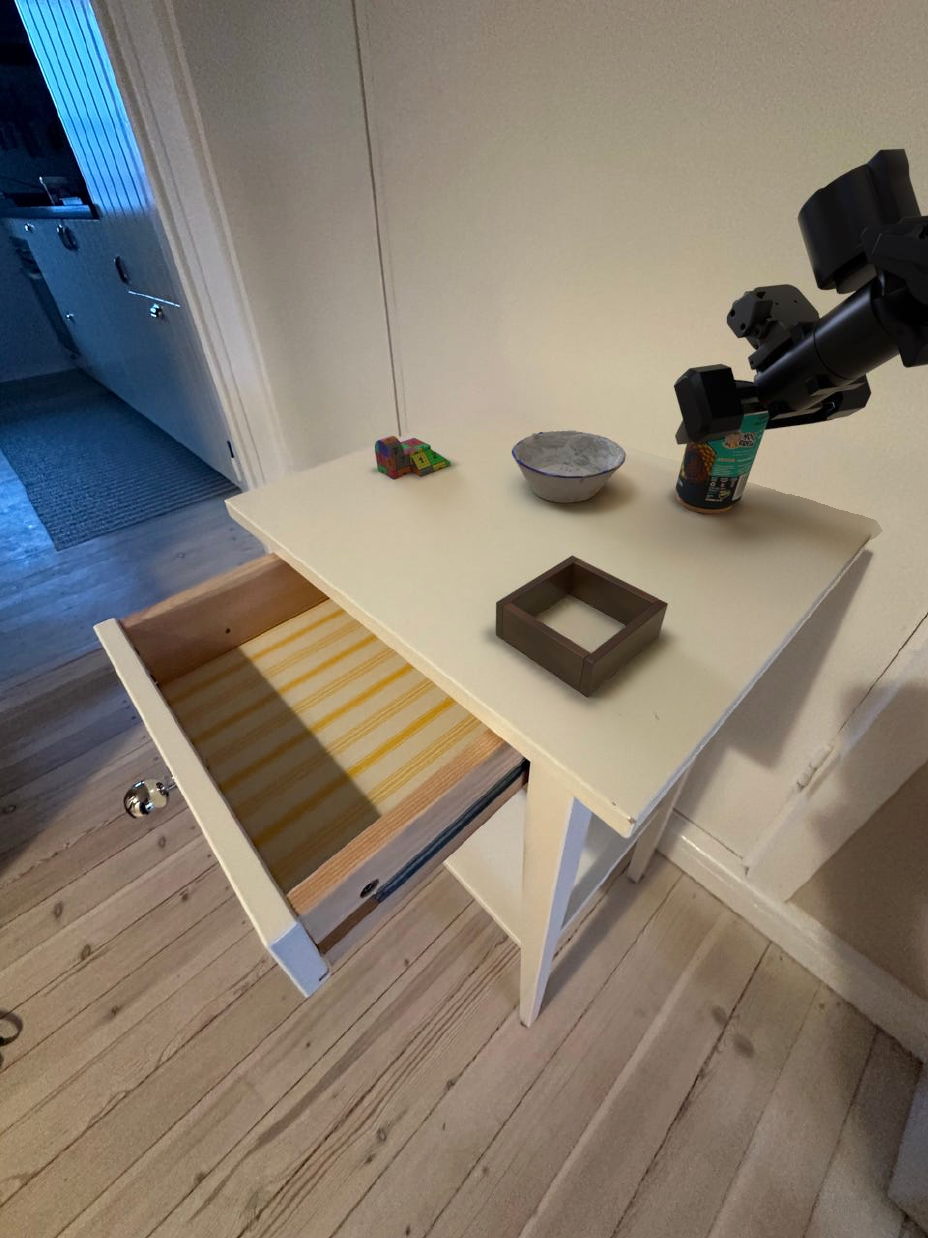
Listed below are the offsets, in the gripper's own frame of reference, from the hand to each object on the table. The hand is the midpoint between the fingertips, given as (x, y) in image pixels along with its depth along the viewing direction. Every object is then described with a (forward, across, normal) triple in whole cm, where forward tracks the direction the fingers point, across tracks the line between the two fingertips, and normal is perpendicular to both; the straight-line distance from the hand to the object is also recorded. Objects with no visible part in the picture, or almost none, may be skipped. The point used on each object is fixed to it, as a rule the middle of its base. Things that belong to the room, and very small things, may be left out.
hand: (713, 433), depth 57 cm
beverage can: (+4, 0, +6) cm, 7 cm away
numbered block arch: (+19, +29, -9) cm, 36 cm away
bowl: (+11, +13, 0) cm, 17 cm away
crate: (-7, +24, +17) cm, 31 cm away
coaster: (+4, 0, +6) cm, 7 cm away
